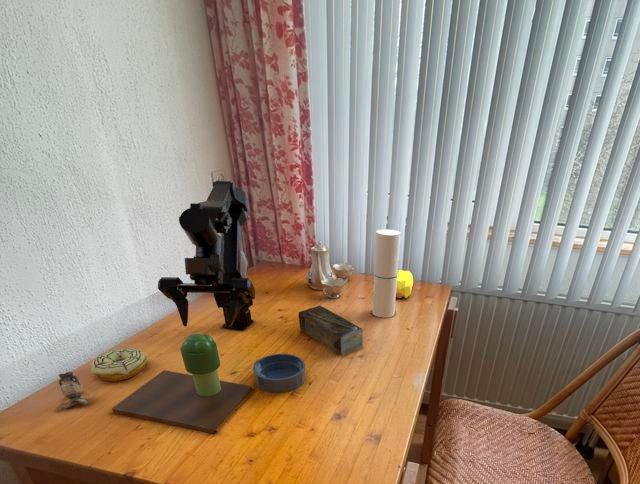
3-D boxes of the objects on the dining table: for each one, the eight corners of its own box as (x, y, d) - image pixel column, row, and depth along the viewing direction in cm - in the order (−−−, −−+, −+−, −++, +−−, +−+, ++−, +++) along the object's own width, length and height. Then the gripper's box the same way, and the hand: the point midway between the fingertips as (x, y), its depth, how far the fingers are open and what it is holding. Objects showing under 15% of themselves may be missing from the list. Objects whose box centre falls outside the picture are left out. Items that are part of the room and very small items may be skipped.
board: (113, 413, 76) (111, 408, 75) (165, 374, 88) (163, 369, 88) (214, 434, 73) (212, 429, 72) (253, 390, 85) (252, 386, 84)
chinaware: (346, 307, 130) (352, 258, 121) (297, 299, 129) (299, 249, 120) (353, 279, 153) (358, 237, 144) (312, 272, 152) (314, 229, 143)
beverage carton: (340, 357, 99) (340, 334, 95) (298, 331, 110) (296, 309, 106) (363, 348, 104) (364, 325, 100) (320, 324, 115) (319, 303, 111)
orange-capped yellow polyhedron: (387, 299, 134) (409, 302, 133) (388, 280, 130) (411, 283, 130) (393, 282, 149) (413, 284, 148) (394, 265, 145) (415, 267, 144)
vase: (64, 395, 80) (51, 370, 76) (95, 390, 82) (84, 366, 78) (57, 410, 76) (44, 385, 72) (90, 405, 78) (79, 380, 74)
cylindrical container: (368, 314, 122) (371, 232, 108) (377, 306, 128) (381, 228, 114) (389, 319, 120) (395, 236, 106) (397, 311, 126) (404, 231, 112)
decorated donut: (85, 383, 84) (78, 368, 82) (110, 358, 92) (104, 344, 90) (135, 383, 85) (129, 369, 82) (155, 358, 93) (151, 345, 91)
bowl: (245, 389, 85) (243, 374, 83) (269, 364, 94) (267, 350, 92) (294, 398, 83) (292, 383, 81) (313, 372, 93) (312, 357, 90)
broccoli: (186, 390, 82) (170, 334, 74) (214, 378, 86) (202, 324, 79) (203, 403, 78) (188, 346, 71) (231, 389, 83) (220, 334, 75)
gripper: (147, 237, 76) (142, 312, 73) (245, 240, 79) (244, 312, 76) (170, 265, 87) (167, 330, 84) (255, 266, 90) (255, 330, 87)
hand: (207, 325), depth 82 cm, fingers open, 9 cm apart
